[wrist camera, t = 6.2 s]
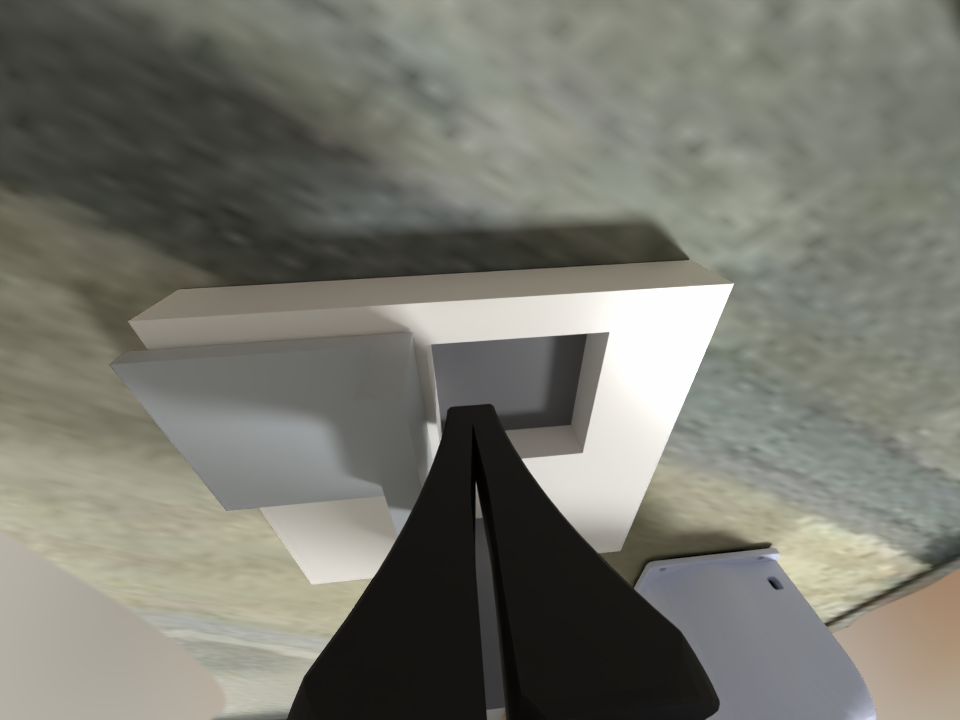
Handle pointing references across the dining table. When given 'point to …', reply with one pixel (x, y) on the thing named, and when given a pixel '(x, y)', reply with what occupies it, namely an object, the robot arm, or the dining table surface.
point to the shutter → (292, 418)
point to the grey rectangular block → (488, 629)
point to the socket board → (491, 377)
